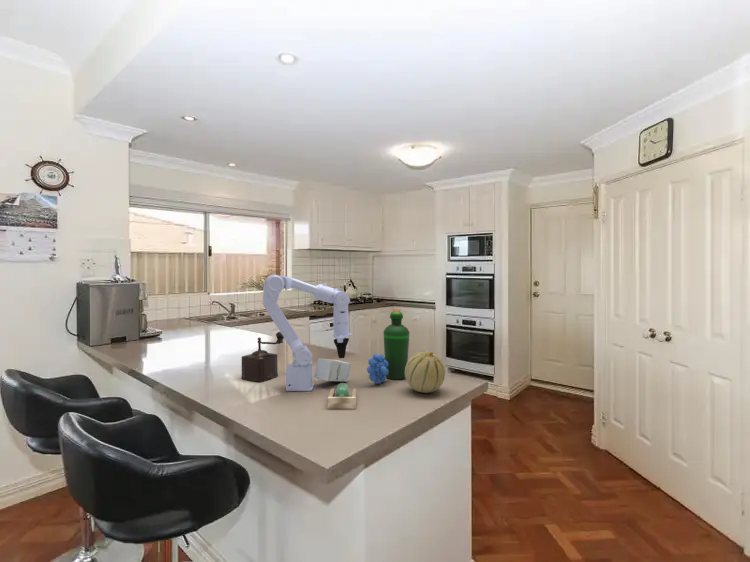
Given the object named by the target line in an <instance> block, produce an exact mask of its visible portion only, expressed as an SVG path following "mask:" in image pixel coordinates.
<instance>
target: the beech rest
mask: <svg viewBox="0 0 750 562" xmlns="http://www.w3.org/2000/svg"><path fill="white" fill-rule="evenodd" d="M335 393H336V389H335V388H330V391H329V394H328V397H327V409H328V410H341V409H343V410H352V409H353V410H356V408H357V407H356V406H357V396H358V394H357V393H358V391H357V388H353V389H352V395H351V396H348V397H335Z"/></svg>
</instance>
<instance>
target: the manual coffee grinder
mask: <svg viewBox="0 0 750 562" xmlns="http://www.w3.org/2000/svg"><path fill="white" fill-rule="evenodd" d="M275 336H276V341H274V342H273V341H271V342H270V341H262V338H261V337H257V343H258V348H257V350H256V351H255V350H254V351H253V352H252V353H250V354H247V355H242V356H241V380H243V381H248V382H256V383H260V384H261V383H264V382H265V381H266V382H267V381H270V380H272V379H275V378H276V377H278V376H279V374H278V373H279V372H278V368H279V367H278V354H277V353H271V352H268V351H267V350H264V349H263V350H262V345H277V344H278V345H281V344H283V343H284V340H285V338H284V337H283V335H282V334H281V332H280V331H277V332H276V334H275ZM261 344H262V345H261Z"/></svg>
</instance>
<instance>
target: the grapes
mask: <svg viewBox="0 0 750 562" xmlns="http://www.w3.org/2000/svg"><path fill="white" fill-rule="evenodd" d="M368 365H369V366H368V367H367V368H366V372H367V373H368V374H369V375H368V379H369V380H370V381H371V382H374V384H376V385H379V384H381V383H384V382H386V380H387V377H386V375H388V373H389V371H388V369H387V367H388V362H387V361H386V360H385V355H384V354H378V353H374V354H373V355H372V358H370V359H369V358H368Z"/></svg>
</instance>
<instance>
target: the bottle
mask: <svg viewBox="0 0 750 562" xmlns="http://www.w3.org/2000/svg"><path fill="white" fill-rule="evenodd" d="M389 314H390V315H389V319H390V320H391V324H389V325H388V326H386V327H385V328H384V330H383V350H384V357H385V360H386V361H387V362H388V367H387V369H388V371H389V373H388V375H385V377H386V379H389V380H393V381H398V380H404V379H406V378H405V367H406V364H407V362H408V360H409V348H410V331H409V329H408V328H407V327H406V326H405V325H403V324H402V322H403V321H402V320H403V319H404V316H403V315H404V314H403V312H402V311H401V308H392V312H390V313H389Z"/></svg>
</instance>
